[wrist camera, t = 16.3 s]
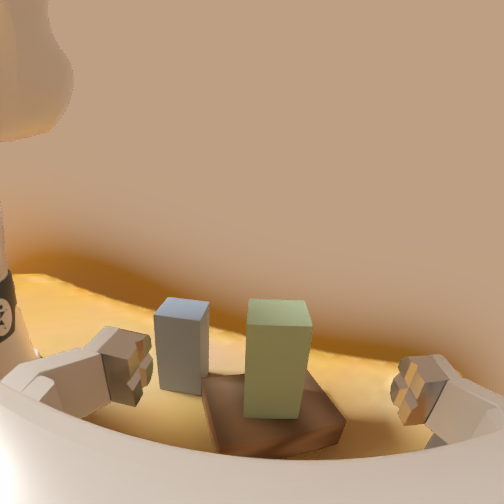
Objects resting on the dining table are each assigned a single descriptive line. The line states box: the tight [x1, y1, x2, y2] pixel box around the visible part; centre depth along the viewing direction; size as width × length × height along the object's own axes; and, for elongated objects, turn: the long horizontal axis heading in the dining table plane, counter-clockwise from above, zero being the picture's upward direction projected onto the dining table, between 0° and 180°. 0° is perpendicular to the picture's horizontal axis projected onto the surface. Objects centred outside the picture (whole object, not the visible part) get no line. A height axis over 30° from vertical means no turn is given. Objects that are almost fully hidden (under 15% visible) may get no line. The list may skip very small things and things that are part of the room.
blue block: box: [154, 297, 209, 396], centre depth 33 cm, size 5×5×10 cm
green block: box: [243, 299, 313, 419], centre depth 26 cm, size 5×5×10 cm
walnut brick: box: [202, 370, 346, 459], centre depth 28 cm, size 12×10×4 cm
